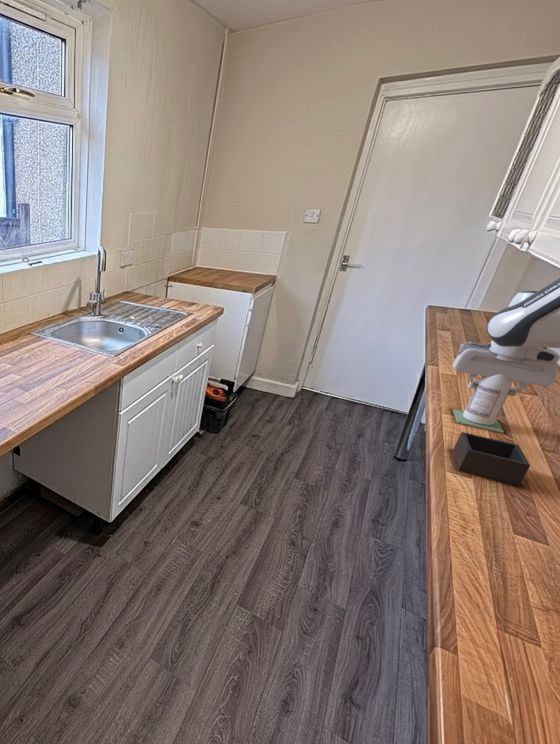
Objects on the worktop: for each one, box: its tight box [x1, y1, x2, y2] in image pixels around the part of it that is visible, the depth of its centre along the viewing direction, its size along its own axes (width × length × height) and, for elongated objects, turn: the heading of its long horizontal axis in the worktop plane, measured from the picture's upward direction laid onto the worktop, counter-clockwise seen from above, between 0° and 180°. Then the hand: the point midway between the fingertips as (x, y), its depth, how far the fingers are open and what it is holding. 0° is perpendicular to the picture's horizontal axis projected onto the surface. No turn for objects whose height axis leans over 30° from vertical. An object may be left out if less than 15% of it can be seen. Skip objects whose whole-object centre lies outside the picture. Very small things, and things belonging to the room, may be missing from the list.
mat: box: [452, 408, 505, 434], centre depth 125 cm, size 10×10×1 cm
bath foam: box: [463, 374, 513, 425], centre depth 121 cm, size 7×7×20 cm
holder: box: [452, 431, 531, 487], centre depth 103 cm, size 11×11×6 cm
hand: (491, 391), depth 121 cm, fingers closed on bath foam, 7 cm apart
